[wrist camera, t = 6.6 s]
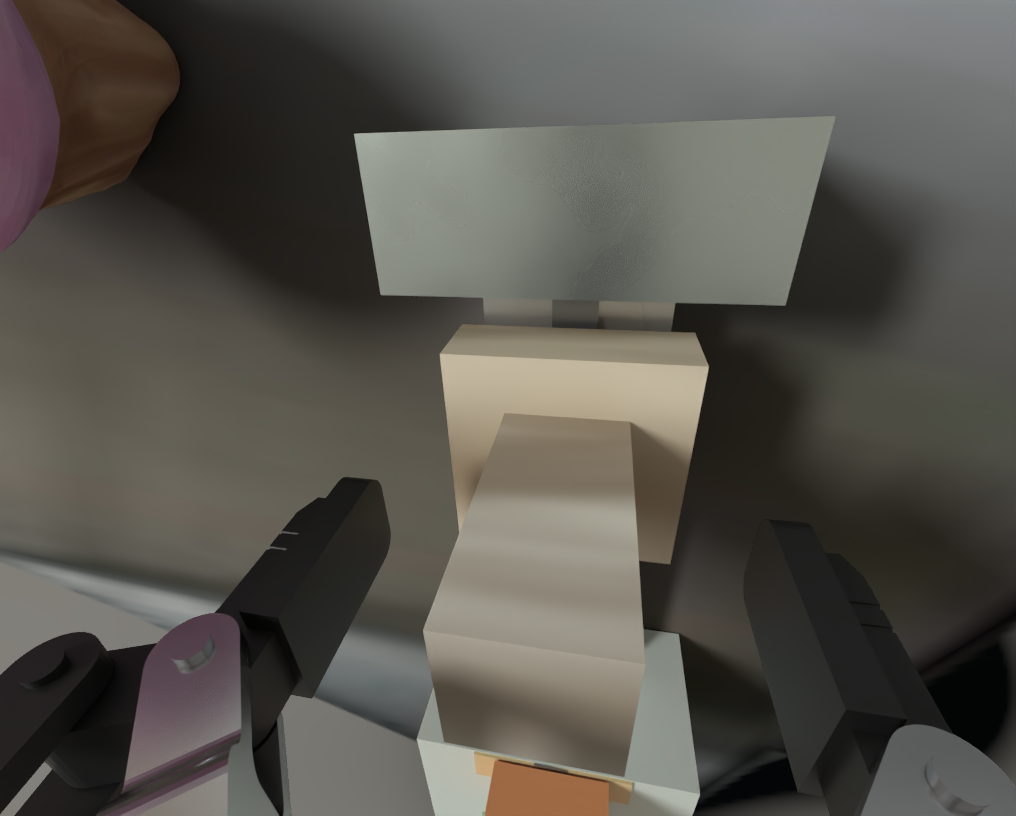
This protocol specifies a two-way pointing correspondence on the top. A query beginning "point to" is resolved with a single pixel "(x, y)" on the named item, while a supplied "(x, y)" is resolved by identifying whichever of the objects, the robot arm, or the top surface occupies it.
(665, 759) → the white rectangular block
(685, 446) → the cream t-shaped block
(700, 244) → the gray t-shaped block
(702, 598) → the top surface
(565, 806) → the orange foam cube
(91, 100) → the cupcake
